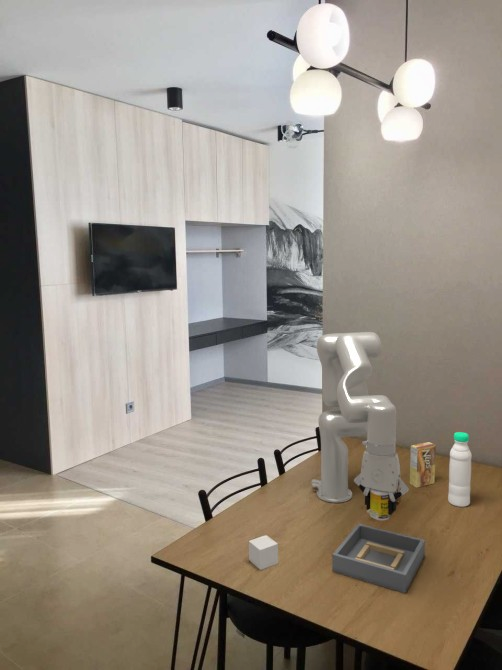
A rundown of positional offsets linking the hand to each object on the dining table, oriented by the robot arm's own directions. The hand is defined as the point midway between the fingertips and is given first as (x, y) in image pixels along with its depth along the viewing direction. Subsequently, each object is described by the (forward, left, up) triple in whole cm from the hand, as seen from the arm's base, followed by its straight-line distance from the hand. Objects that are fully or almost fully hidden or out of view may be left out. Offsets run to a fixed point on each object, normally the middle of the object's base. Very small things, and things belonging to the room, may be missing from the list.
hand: (380, 509), depth 152 cm
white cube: (-29, -15, -16) cm, 36 cm away
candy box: (-3, +60, -16) cm, 62 cm away
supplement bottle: (0, 0, -2) cm, 2 cm away
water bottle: (+12, +50, -16) cm, 54 cm away
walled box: (0, 0, -16) cm, 16 cm away
